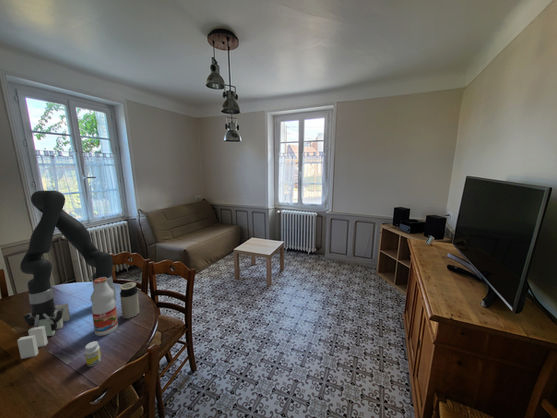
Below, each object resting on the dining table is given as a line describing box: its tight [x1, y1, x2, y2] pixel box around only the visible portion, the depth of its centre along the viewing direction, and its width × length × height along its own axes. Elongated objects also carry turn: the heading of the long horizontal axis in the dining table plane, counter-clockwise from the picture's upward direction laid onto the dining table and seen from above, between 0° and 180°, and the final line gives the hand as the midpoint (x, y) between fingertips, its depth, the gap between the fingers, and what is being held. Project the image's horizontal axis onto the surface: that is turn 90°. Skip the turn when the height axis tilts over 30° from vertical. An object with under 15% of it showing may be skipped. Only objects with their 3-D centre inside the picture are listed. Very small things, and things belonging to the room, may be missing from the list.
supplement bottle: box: [84, 340, 102, 367], centre depth 91 cm, size 5×5×8 cm
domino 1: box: [17, 335, 39, 360], centre depth 93 cm, size 2×5×9 cm, turn 108°
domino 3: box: [38, 317, 56, 337], centre depth 104 cm, size 2×5×9 cm, turn 108°
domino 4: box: [54, 303, 71, 322], centre depth 116 cm, size 2×5×9 cm, turn 108°
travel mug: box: [119, 281, 140, 319], centre depth 121 cm, size 8×8×18 cm
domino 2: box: [27, 326, 49, 348], centre depth 99 cm, size 2×5×9 cm, turn 108°
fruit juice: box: [90, 277, 119, 337], centre depth 108 cm, size 9×9×28 cm
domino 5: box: [54, 312, 64, 330], centre depth 110 cm, size 2×5×9 cm, turn 108°
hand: (47, 330), depth 105 cm, fingers closed on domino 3, 4 cm apart
